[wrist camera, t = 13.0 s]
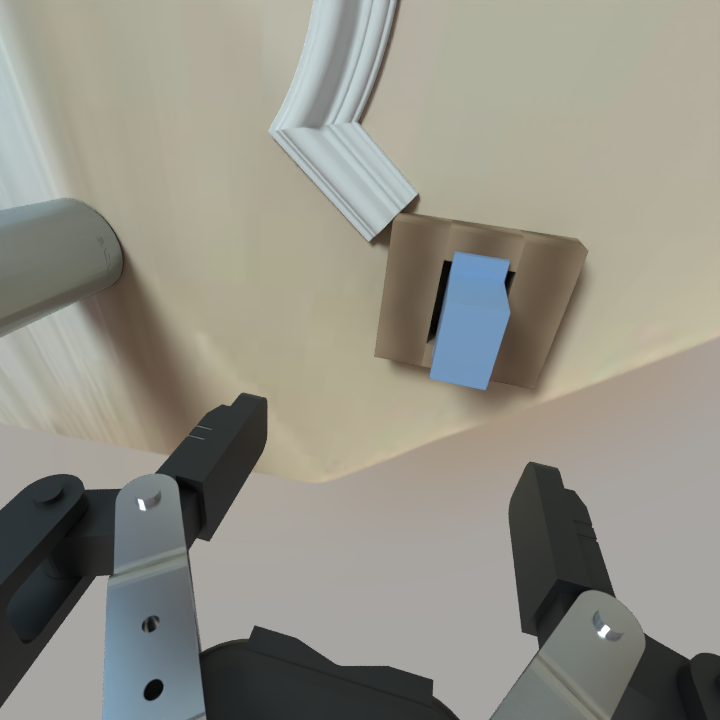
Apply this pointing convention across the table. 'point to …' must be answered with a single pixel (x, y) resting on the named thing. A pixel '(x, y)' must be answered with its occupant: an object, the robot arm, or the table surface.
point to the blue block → (471, 321)
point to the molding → (343, 113)
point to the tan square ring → (523, 288)
